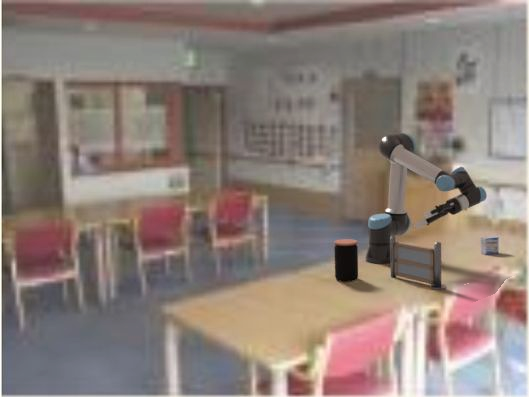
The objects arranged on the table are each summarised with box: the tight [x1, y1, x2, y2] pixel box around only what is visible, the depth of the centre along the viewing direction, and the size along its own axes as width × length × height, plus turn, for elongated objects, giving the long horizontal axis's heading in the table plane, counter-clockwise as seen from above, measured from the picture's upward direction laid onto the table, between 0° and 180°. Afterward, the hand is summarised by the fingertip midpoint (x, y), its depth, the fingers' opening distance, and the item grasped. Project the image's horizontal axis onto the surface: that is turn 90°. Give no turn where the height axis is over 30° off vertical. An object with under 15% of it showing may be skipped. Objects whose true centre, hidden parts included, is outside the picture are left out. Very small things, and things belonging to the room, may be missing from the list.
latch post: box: [389, 236, 397, 278], centre depth 325 cm, size 2×2×19 cm
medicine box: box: [480, 236, 500, 256], centre depth 366 cm, size 8×4×9 cm, turn 105°
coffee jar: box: [333, 238, 359, 283], centre depth 325 cm, size 11×11×18 cm
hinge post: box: [430, 241, 446, 291], centre depth 304 cm, size 6×6×20 cm
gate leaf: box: [394, 241, 434, 285], centre depth 315 cm, size 23×2×16 cm, turn 35°
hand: (419, 221), depth 326 cm, fingers open, 13 cm apart
